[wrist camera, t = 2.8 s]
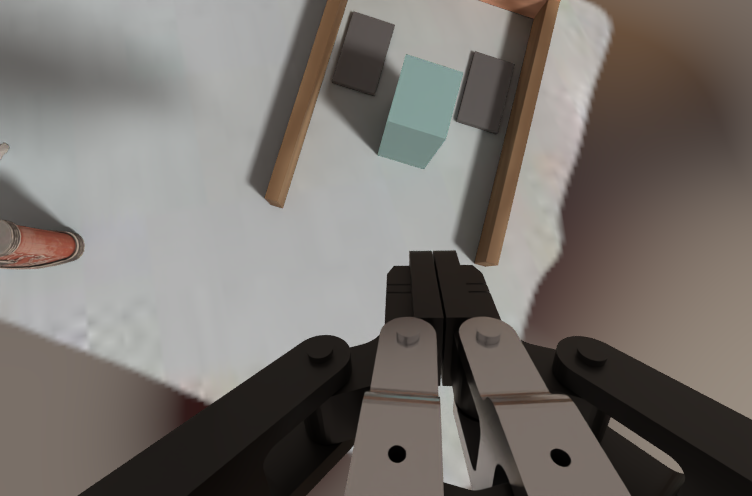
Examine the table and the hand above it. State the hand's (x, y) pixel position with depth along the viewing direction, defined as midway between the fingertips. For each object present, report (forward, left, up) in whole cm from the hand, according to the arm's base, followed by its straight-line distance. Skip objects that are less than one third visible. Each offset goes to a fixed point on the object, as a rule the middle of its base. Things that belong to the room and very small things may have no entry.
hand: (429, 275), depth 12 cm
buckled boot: (-30, -6, -24) cm, 39 cm away
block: (0, +15, -24) cm, 29 cm away
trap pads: (0, +22, -24) cm, 33 cm away
